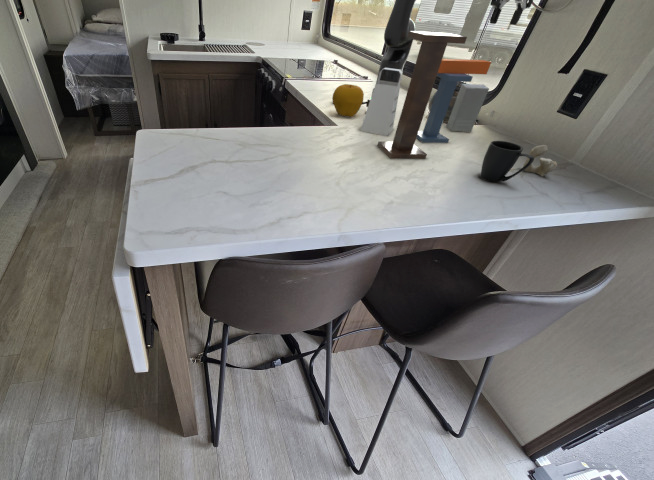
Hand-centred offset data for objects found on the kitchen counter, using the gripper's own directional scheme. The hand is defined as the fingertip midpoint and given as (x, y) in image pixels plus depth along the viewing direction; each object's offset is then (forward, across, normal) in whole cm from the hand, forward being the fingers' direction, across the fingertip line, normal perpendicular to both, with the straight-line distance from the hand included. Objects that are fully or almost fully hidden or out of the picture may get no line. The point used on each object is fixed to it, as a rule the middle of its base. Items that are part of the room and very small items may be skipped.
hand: (502, 24), depth 113 cm
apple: (+34, -36, +28) cm, 57 cm away
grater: (+34, -33, +8) cm, 48 cm away
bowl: (+34, +7, +18) cm, 39 cm away
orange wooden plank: (+13, -17, -4) cm, 22 cm away
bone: (+34, -4, -40) cm, 52 cm away
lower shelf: (+34, -17, -4) cm, 38 cm away
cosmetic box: (+34, +2, +3) cm, 34 cm away
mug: (+34, -22, -42) cm, 59 cm away
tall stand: (+34, -38, -16) cm, 53 cm away
